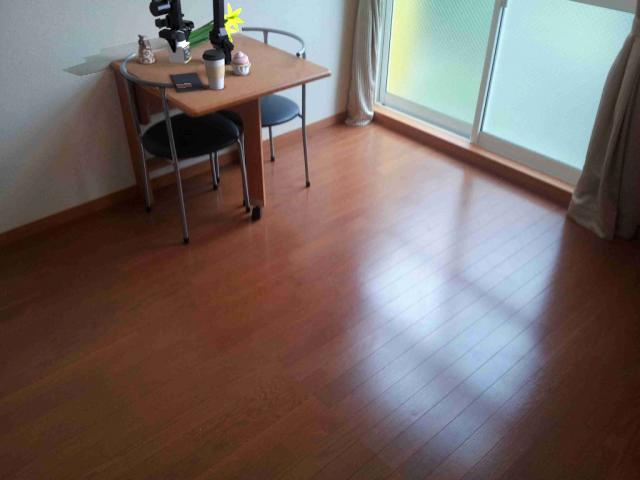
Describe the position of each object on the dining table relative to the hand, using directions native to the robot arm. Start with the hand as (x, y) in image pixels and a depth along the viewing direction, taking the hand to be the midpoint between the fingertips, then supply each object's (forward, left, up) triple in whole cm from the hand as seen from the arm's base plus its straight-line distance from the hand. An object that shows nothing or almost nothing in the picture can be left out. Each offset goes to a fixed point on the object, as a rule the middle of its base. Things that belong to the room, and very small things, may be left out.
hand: (179, 49), depth 243 cm
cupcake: (-26, +2, -12) cm, 29 cm away
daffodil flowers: (-21, -40, -12) cm, 46 cm away
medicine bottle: (0, 0, -5) cm, 5 cm away
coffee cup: (-12, +16, -12) cm, 23 cm away
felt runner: (-1, +6, -12) cm, 14 cm away
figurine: (+12, -26, -12) cm, 31 cm away
